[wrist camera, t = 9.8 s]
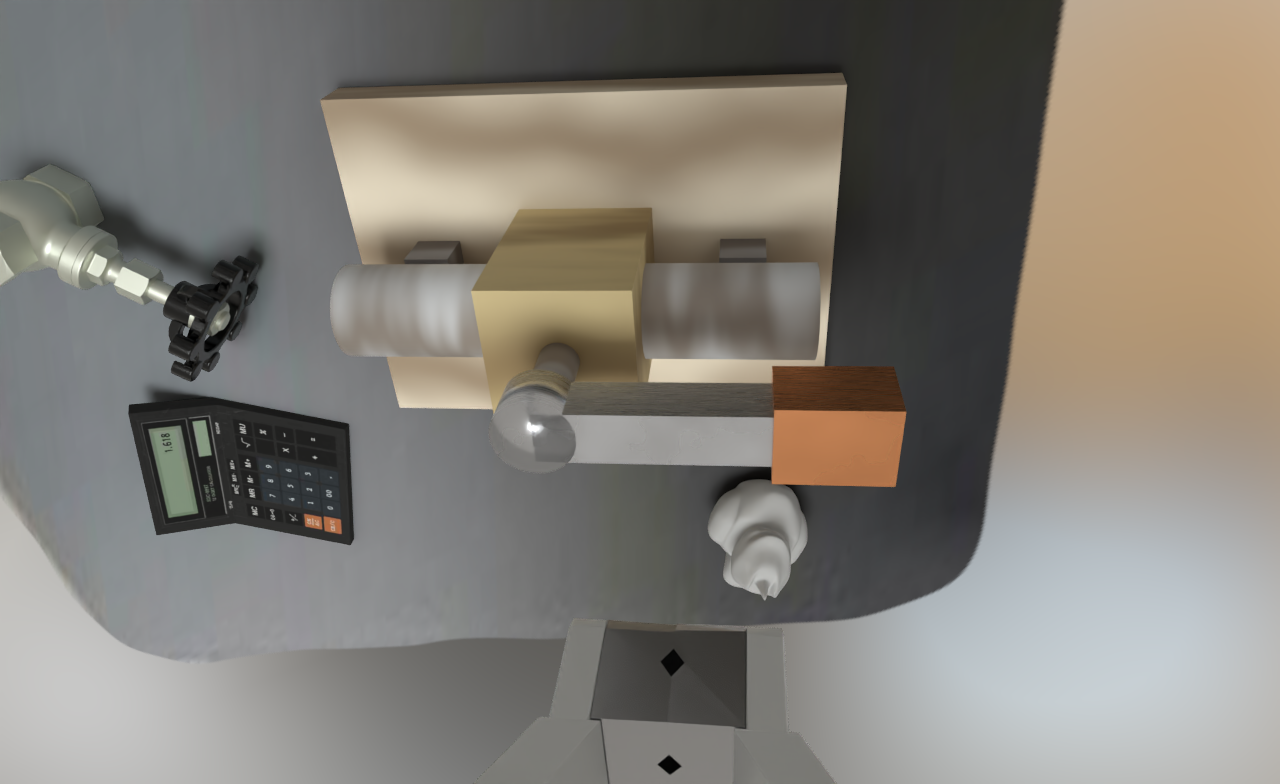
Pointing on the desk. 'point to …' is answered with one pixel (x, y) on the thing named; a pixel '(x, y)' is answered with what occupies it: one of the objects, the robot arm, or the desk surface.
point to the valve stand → (587, 230)
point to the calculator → (244, 468)
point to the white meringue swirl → (759, 535)
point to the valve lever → (711, 424)
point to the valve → (116, 264)
